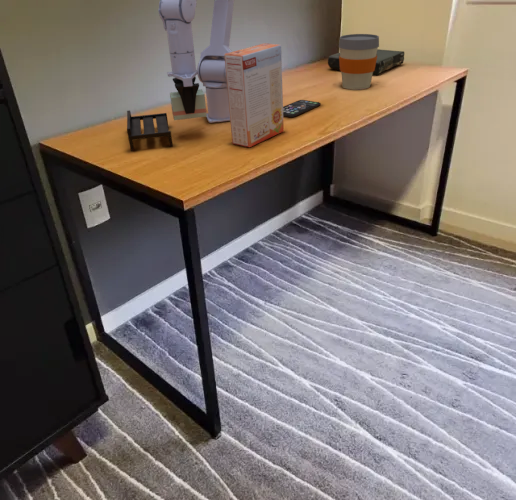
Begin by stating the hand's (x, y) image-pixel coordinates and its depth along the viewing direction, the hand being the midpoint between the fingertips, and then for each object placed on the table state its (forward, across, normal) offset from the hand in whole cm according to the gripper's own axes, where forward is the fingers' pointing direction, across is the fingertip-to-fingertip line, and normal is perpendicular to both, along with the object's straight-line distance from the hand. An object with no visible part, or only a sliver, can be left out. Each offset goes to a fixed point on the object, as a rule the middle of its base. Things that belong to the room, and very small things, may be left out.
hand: (188, 110), depth 121 cm
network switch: (+7, -57, +72) cm, 92 cm away
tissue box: (+1, 0, 0) cm, 1 cm away
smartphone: (+7, -13, +32) cm, 35 cm away
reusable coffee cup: (+7, -32, +58) cm, 66 cm away
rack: (+7, -2, -10) cm, 12 cm away
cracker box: (+7, +7, +16) cm, 19 cm away
